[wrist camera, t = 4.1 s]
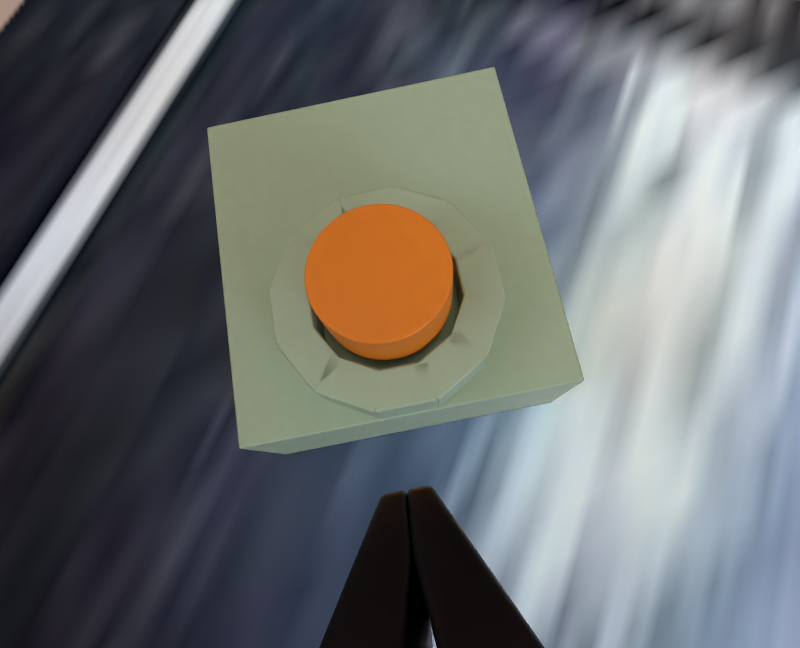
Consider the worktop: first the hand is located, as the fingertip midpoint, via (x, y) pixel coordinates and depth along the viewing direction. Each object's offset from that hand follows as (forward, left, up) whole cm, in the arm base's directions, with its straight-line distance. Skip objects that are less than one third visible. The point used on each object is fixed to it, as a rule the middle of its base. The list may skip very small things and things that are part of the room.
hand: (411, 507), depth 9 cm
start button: (+5, +3, -6) cm, 8 cm away
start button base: (+7, +5, -13) cm, 15 cm away
